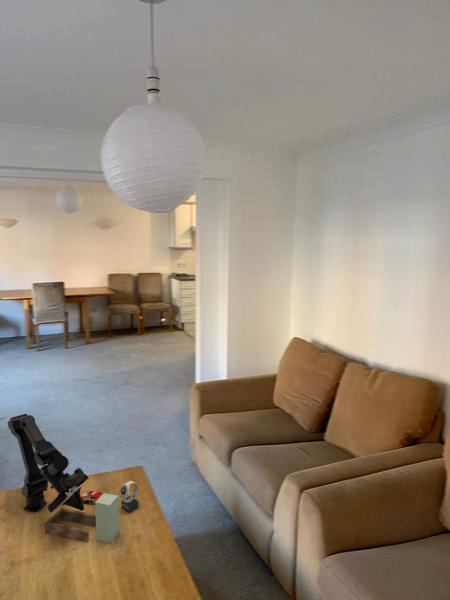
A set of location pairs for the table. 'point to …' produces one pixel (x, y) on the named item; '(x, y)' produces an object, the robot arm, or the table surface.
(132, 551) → the table surface
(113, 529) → the block
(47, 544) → the table surface
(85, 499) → the race car
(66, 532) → the brown rectangular frame
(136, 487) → the watch
